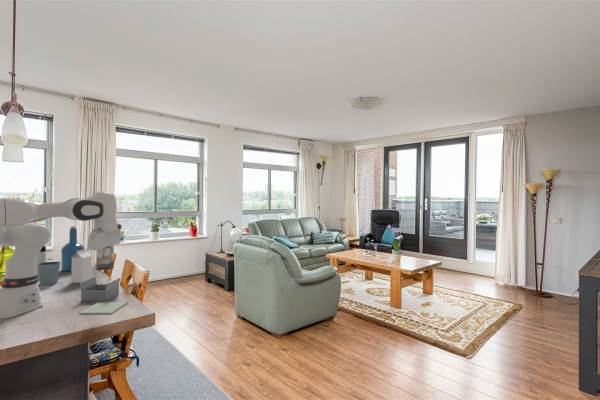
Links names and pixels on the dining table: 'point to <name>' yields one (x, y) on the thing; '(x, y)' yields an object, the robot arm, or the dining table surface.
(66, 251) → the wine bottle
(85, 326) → the dining table surface
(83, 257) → the milk carton
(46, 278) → the grey-green plant pot
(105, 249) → the box
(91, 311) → the sage mat
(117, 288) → the storage tote
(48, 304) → the dining table surface
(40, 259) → the travel mug
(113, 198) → the robot arm
